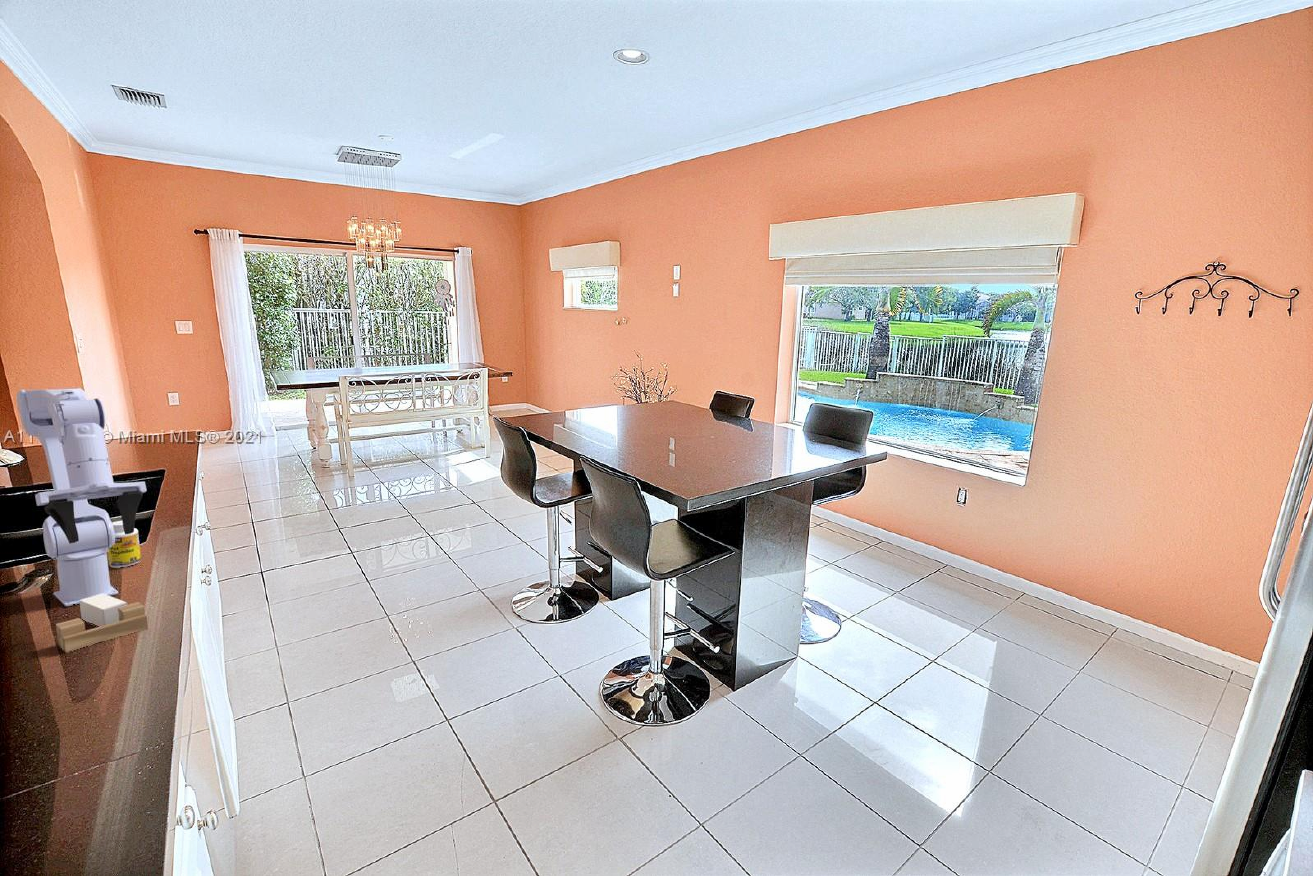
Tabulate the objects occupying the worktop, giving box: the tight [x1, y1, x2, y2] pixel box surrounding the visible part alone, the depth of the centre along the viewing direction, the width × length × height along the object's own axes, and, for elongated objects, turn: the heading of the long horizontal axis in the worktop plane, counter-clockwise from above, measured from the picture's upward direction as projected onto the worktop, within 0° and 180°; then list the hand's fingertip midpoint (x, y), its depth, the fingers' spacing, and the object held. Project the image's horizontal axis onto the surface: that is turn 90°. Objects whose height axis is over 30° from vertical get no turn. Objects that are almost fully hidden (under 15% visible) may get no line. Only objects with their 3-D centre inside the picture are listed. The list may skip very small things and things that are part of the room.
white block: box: [79, 593, 128, 627], centre depth 112 cm, size 9×4×4 cm, turn 66°
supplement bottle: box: [107, 520, 142, 569], centre depth 138 cm, size 6×6×10 cm
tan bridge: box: [55, 602, 149, 654], centre depth 107 cm, size 4×11×4 cm, turn 146°
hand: (102, 537), depth 106 cm, fingers open, 7 cm apart
